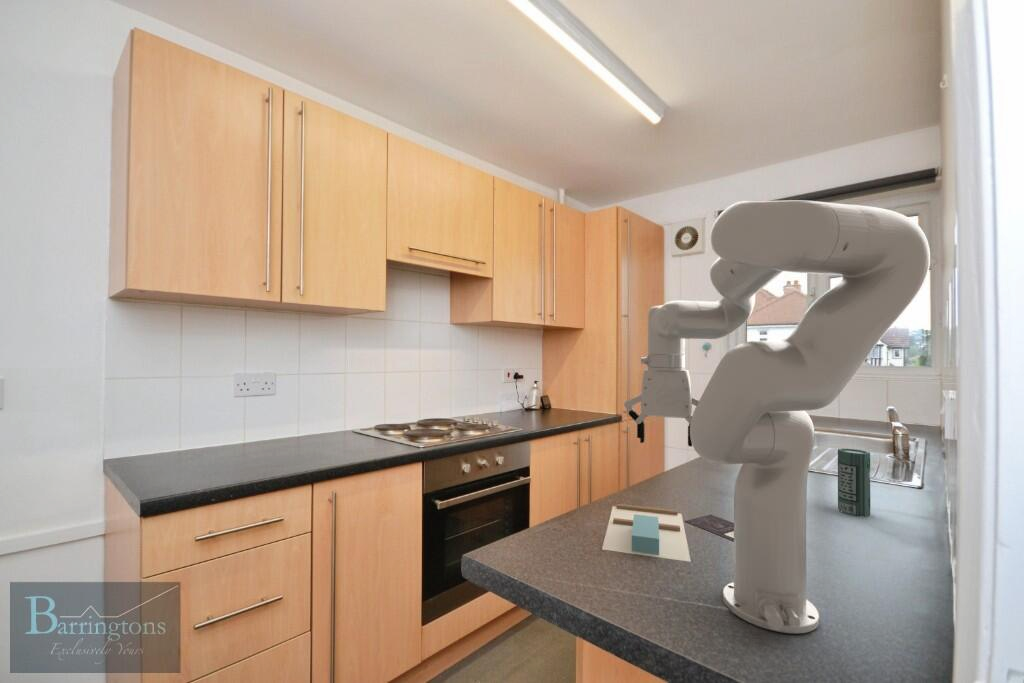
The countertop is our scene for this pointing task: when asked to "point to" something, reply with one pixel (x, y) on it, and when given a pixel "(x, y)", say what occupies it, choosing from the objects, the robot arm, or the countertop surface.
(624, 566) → the countertop surface
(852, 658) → the countertop surface
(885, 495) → the countertop surface
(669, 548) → the cream base board
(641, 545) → the teal bar on plank
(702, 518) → the chocolate bar
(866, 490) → the can
